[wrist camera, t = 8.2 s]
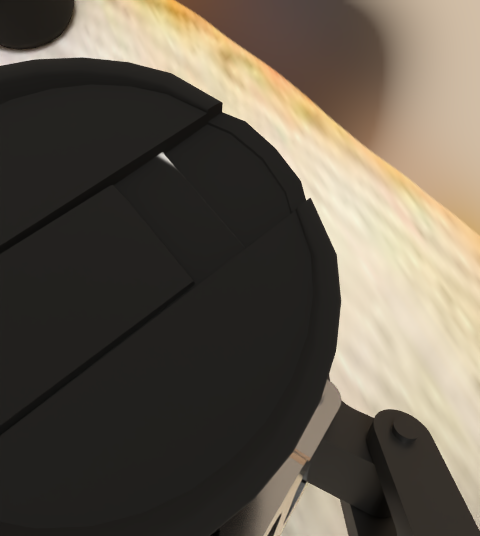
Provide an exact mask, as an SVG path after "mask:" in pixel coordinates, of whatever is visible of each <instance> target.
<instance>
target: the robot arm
mask: <svg viewBox="0 0 480 536" xmlns="http://www.w3.org/2000/svg"><path fill="white" fill-rule="evenodd" d="M308 482H309V483H310V484H312V485H314V486H316V487H318V488H320V489H322V490H324V491H326V492H328V493H330V494H332V495H333V496H335V497H337V498H339V499H340V502H341V506H342V510H343V514H344V518H345V522H346V527H347V531H348V535H349V536H480V531H479V529H478V527H477V525H476V523H475V521H474V519H473V517H472V515H471V513H470V511H469V509H468V507H467V505H466V503H465V501H464V499H463V497H462V495H461V493H460V491H459V489H458V487H457V486H456V484H455V482H454V480H453V478H452V476H451V474H450V472H449V470H448V468H447V466H446V464H445V462H444V460H443V458H442V456H441V454H440V452H439V450H438V448H437V446H436V444H435V442H434V440H433V438H432V436H431V434H430V433H429V431H428V430H427V428H426V427H425V426H424V425H423V424H422V423H421V422H419V421H418V420H417V419H416V418H414V417H413V416H411V415H409V414H407V413H404V412H402V411H398V410H392V409H388V410H383V411H380V412H379V413H378V414H377V415H376V416H375V418H372V417H370V416H368V415H366V414H364V413H361V412H359V411H357V410H355V409H353V408H351V407H349V406H348V405H346V404H345V403H344V402H343V401H341V396H340V393H339V391H338V389H337V388H336V387H335V385H334V384H333V383H332V382H330V378H329V375H328V379H327V382H326V385H325V388H324V392H323V395H322V398H321V401H320V403H319V405H318V407H317V409H316V411H315V412H314V414H313V416H312V418H311V420H310V422H309V424H308V425H307V427H306V429H305V431H304V433H303V435H302V437H301V439H300V440H299V442H298V444H297V446H296V448H295V450H294V451H293V453H292V454H291V455H290V456H289V458H288V459H287V460H286V461H285V462H284V464H283V465H282V466H281V467H280V469H279V470H278V471H277V472H276V473H275V475H274V476H273V477H272V478H271V480H270V481H269V482H268V483H267V484H266V486H265V487H264V488H263V489H262V491H261V492H260V493H259V494H258V495H257V497H256V498H255V499H254V500H253V501H251V502H250V503H249V504H248V505H247V506H245V507H244V508H243V509H242V510H241V511H239V512H238V513H237V514H236V515H234V516H233V517H232V518H231V519H230V520H228V521H227V522H226V523H225V524H224V525H222V526H221V527H220V528H219V529H217V530H216V531H215V532H214V533H213V534H211V535H210V536H280V535H281V533H282V531H283V529H284V527H285V525H286V523H287V521H288V519H289V518H290V516H291V514H292V512H293V510H294V508H295V506H296V505H297V503H298V501H299V499H300V497H301V495H302V493H303V491H304V490H305V488H306V486H307V484H308Z"/></svg>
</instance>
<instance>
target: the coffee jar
mask: <svg viewBox="0 0 480 536" xmlns="http://www.w3.org/2000/svg"><path fill="white" fill-rule="evenodd" d="M73 8H74V0H0V45H2V46H4V47H9V48H16V49H27V48H36V47H39V46H41V45H44V44H47V43H49V42H51V41H52V40H54V39H55V38H56V37H58V36H59V35H61V33H62V32H63V31H64V29H65V28H66V27H67V25H68V23H69V20H70V18H71V15H72V11H73Z"/></svg>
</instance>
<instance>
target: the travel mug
mask: <svg viewBox="0 0 480 536" xmlns="http://www.w3.org/2000/svg"><path fill="white" fill-rule="evenodd" d="M340 307H341V295H340V285H339V274H338V264H337V255H336V252H335V250H334V248H333V246H332V244H331V241H330V239H329V237H328V235H327V233H326V230H325V228H324V226H323V224H322V222H321V219H320V217H319V215H318V213H317V211H316V208H315V206H314V204H313V202H312V200H311V198H309V199H308V200H307V201H306V198H305V195H304V191H303V187H302V184H301V181H300V179H299V178H298V177H297V176H296V174H295V173H294V172H293V170H292V169H291V168H290V167H289V165H288V164H287V163H286V161H285V160H284V159H283V157H282V156H281V155H280V154H279V152H278V151H277V150H276V149H275V148H274V147H273V146H272V145H271V144H270V143H269V142H268V141H267V140H265V139H264V138H263V137H262V136H261V135H260V134H259V133H258V132H256V131H255V130H254V129H253V128H252V127H251V126H250V125H249V124H248V123H246V122H245V121H243V120H240V119H238V118H235V117H233V116H230V115H228V114H225V113H223V112H222V102H220V101H219V100H217V99H215V98H213V97H212V96H210V95H208V94H206V93H205V92H203V91H201V90H199V89H198V88H196V87H194V86H192V85H191V84H189V83H187V82H185V81H184V80H182V79H180V78H178V77H177V76H175V75H173V74H172V73H168V72H164V71H160V70H156V69H152V68H148V67H144V66H140V65H137V64H133V63H129V62H120V61H111V60H101V59H91V58H62V59H38V60H30V61H25V62H19V63H14V64H9V65H3V66H0V536H210V535H211V534H213V533H214V532H215V531H216V530H217V529H219V528H220V527H221V526H222V525H224V524H225V523H226V522H227V521H228V520H230V519H231V518H232V517H233V516H234V515H236V514H237V513H238V512H239V511H241V510H242V509H243V508H244V507H245V506H247V505H248V504H249V503H250V502H251V501H253V500H254V499H255V498H256V497H257V495H258V494H259V493H260V492H261V491H262V489H263V488H264V487H265V486H266V484H267V483H268V482H269V481H270V480H271V478H272V477H273V476H274V475H275V473H276V472H277V471H278V470H279V469H280V467H281V466H282V465H283V464H284V462H285V461H286V460H287V459H288V458H289V456H290V455H291V454H292V453H293V451H294V450H295V448H296V446H297V444H298V442H299V440H300V439H301V437H302V435H303V433H304V431H305V429H306V427H307V425H308V424H309V422H310V420H311V418H312V416H313V414H314V412H315V411H316V409H317V407H318V405H319V403H320V401H321V398H322V395H323V392H324V388H325V385H326V382H327V379H328V375H329V372H330V369H331V365H332V362H333V359H334V356H335V352H336V347H337V337H338V327H339V317H340Z"/></svg>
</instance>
